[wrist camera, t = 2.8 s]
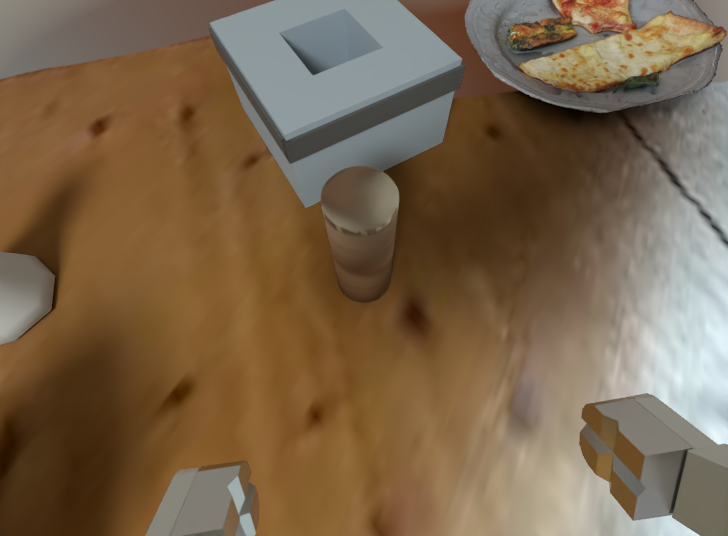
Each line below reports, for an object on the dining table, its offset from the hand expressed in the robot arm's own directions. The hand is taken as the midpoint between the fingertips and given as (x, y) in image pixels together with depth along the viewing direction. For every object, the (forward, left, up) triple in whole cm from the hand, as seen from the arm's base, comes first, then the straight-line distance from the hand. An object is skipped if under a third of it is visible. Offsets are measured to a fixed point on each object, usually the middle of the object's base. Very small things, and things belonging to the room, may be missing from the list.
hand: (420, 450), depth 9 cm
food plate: (-38, -23, -16) cm, 47 cm away
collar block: (-10, -26, -15) cm, 31 cm away
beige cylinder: (-4, -11, -15) cm, 19 cm away
